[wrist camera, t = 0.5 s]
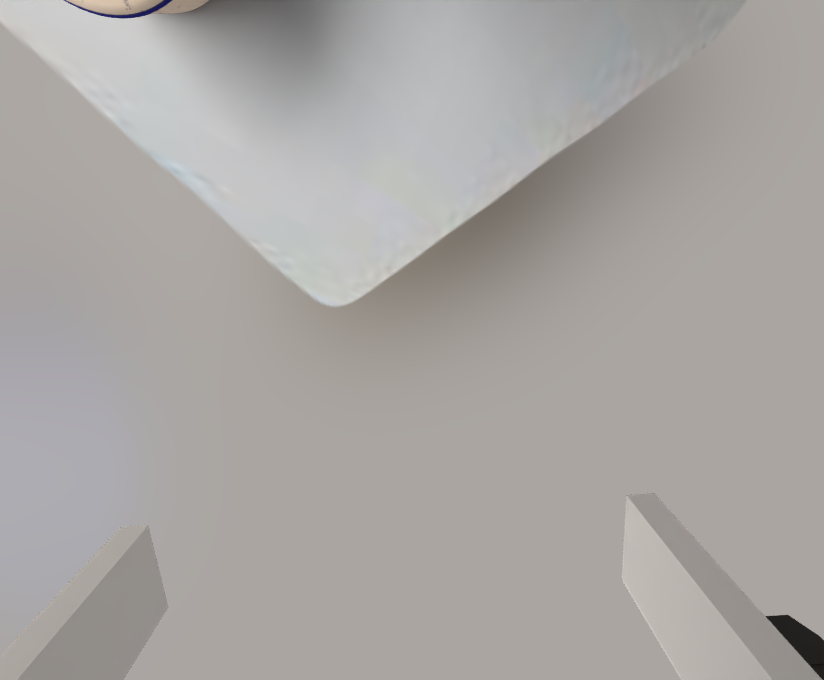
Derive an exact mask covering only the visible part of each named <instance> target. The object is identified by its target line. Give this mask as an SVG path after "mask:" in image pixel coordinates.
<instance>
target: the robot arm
mask: <svg viewBox="0 0 824 680" xmlns="http://www.w3.org/2000/svg"><path fill="white" fill-rule="evenodd" d="M622 581H623V583H624V584H625V586H626V588H627V589H628V591H629V593H630V594H631V596H632V598H633V599H634V601H635V603H636V605H637V606H638V608H639V610H640V611H641V613H642V615H643V616H644V618H645V620H646V621H647V623H648V625H649V627H650V628H651V630H652V632H653V633H654V635H655V637H656V638H657V640H658V642H659V643H660V645H661V647H662V649H663V650H664V652H665V654H666V655H667V657H668V659H669V660H670V662H671V664H672V665H673V667H674V669H675V670H676V672H677V674H678V675H679V677H680V679H681V680H824V640H823V639H822V638H821V637H820V636H818V635H817V634H815V633H814V632H812V631H811V630H809V629H808V628H806V627H805V626H803V625H802V624H800V623H799V622H797V621H796V620H795V619H793V618H792V617H790V616H789V615H779V616H765V615H764V614H763V613H762V612H761V611H760V610H759V609H758V608H757V607H756V606H755V604H754V603H753V602H752V601H751V600H750V599H749V598H748V597H747V595H746V594H745V593H744V592H743V591H742V590H741V589H740V588H739V587H738V585H737V584H736V583H735V582H734V581H733V580H732V579H731V578H730V577H729V575H728V574H727V573H726V572H725V571H724V570H723V569H722V568H721V566H720V565H718V563H717V562H716V561H715V560H714V559H713V558H712V557H711V556H710V554H709V553H708V552H707V551H706V550H705V549H704V548H703V546H701V544H700V543H699V542H698V541H697V540H696V539H695V538H694V536H693V535H692V534H691V533H690V532H689V531H688V530H687V529H686V528H685V526H684V525H683V524H682V523H681V522H680V521H679V520H678V519H677V518H676V516H675V515H674V514H673V513H672V512H671V511H670V510H669V509H668V508H667V506H666V505H665V504H664V503H663V502H662V501H661V500H660V499H659V498H658V497H657V495H655V494H654V493H652V494H651V493H650V494H636V495H626V512H625V531H624V547H623V565H622ZM167 608H168V605H167V600H166V596H165V592H164V588H163V584H162V580H161V576H160V572H159V567H158V563H157V559H156V555H155V551H154V547H153V543H152V539H151V534H150V530H149V526H148V525H145V526H128V527H120V528H119V529H118V530H117V532H116V533H115V534H114V535H113V536H112V537H111V538H110V539H109V540H108V541H107V542H106V543H105V544H104V545H103V546H102V547H101V549H100V550H99V551H98V552H97V553H96V554H95V555H94V556H93V557H92V558H91V559H90V560H89V561H88V563H87V564H86V565H85V566H84V567H83V568H82V569H81V570H80V571H79V572H78V573H77V574H76V575H75V576H74V577H73V578H72V580H71V581H70V582H69V583H68V584H67V585H66V586H65V587H64V588H63V589H62V590H61V591H60V592H59V593H58V595H57V596H56V597H55V598H54V599H53V600H52V601H51V602H50V603H49V604H48V605H47V606H46V607H45V608H44V609H43V611H42V612H41V613H40V614H39V615H38V616H37V617H36V618H35V619H34V620H33V621H32V622H31V623H30V624H29V626H28V627H27V628H26V629H25V630H24V631H23V632H22V633H21V634H20V635H19V636H18V637H17V638H16V639H15V641H14V642H13V643H12V644H11V645H10V646H9V647H8V648H7V649H6V650H5V651H4V652H3V653H2V654H1V656H0V680H124V678H125V676H126V675H127V673H128V672H129V670H130V668H131V667H132V665H133V664H134V662H135V660H136V659H137V657H138V655H139V653H140V652H141V651H142V649H143V647H144V646H145V644H146V643H147V641H148V639H149V638H150V636H151V634H152V633H153V631H154V629H155V628H156V626H157V625H158V623H159V621H160V620H161V618H162V617H163V615H164V613H165V612H166V610H167Z"/></svg>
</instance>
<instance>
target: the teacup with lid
mask: <svg viewBox="0 0 824 680" xmlns="http://www.w3.org/2000/svg"><path fill="white" fill-rule="evenodd" d="M64 1H66V2H68V3H70V4H72V5H74V6H76V7H78V8H80V9H82V10H85V11H88V12H90V13H94V14H97V15H101V16H106V17H111V18H135V17H141V16H145V15H148V14H151V13H184V12H188V11H191V10H194V9H196V8H199V7H200V6H202V5H204V4H205V3H206V2H207V1H209V0H64Z"/></svg>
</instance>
